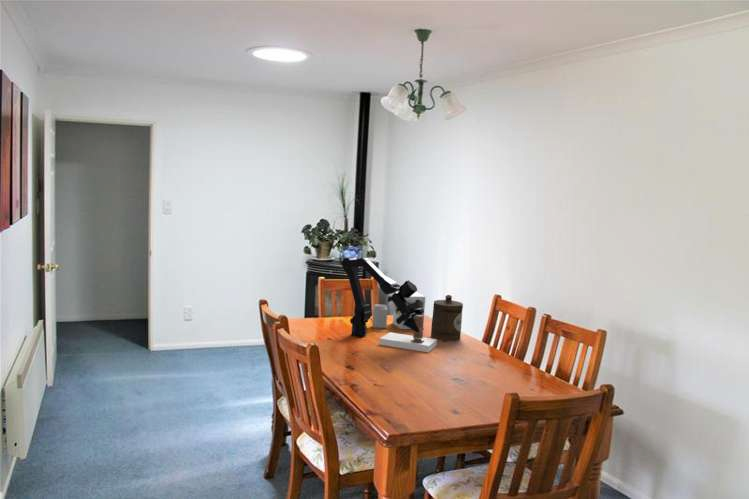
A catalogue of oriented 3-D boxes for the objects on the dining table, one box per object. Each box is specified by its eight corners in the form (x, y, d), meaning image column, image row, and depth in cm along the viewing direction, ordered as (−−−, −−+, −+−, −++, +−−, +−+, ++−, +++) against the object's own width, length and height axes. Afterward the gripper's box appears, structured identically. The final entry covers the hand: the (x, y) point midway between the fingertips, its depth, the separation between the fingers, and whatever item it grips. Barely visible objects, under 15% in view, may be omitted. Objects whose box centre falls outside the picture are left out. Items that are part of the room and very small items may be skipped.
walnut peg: (412, 346, 300) (414, 316, 298) (411, 343, 304) (413, 314, 303) (422, 346, 300) (424, 317, 298) (421, 344, 305) (423, 315, 303)
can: (386, 326, 342) (388, 304, 340) (385, 329, 334) (387, 306, 333) (372, 325, 342) (374, 303, 341) (371, 328, 335) (372, 305, 333)
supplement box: (392, 323, 350) (394, 291, 348) (414, 323, 354) (417, 291, 352) (400, 329, 337) (402, 296, 335) (423, 329, 341) (426, 296, 339)
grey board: (379, 344, 303) (379, 338, 303) (389, 338, 316) (389, 332, 316) (428, 352, 295) (429, 345, 295) (436, 345, 308) (436, 339, 308)
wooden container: (461, 342, 317) (465, 298, 315) (431, 340, 317) (434, 296, 315) (458, 335, 332) (461, 293, 329) (429, 333, 332) (432, 291, 330)
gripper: (403, 296, 293) (423, 324, 289) (422, 291, 309) (441, 317, 305) (387, 310, 298) (407, 338, 294) (406, 305, 314) (425, 331, 310)
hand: (420, 330), depth 301 cm, fingers closed on walnut peg, 4 cm apart
